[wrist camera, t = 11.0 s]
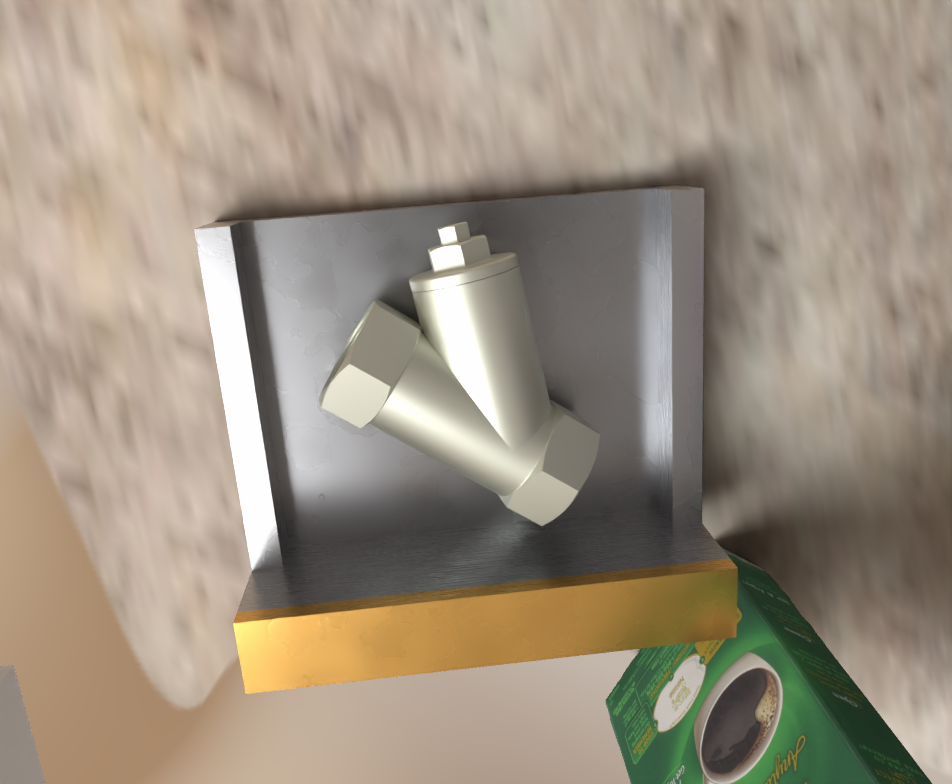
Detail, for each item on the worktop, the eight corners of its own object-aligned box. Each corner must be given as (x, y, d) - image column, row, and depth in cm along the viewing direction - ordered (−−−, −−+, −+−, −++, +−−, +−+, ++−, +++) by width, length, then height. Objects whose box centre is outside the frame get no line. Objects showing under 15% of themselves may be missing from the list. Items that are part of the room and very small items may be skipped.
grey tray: (213, 222, 26) (164, 240, 21) (677, 184, 27) (745, 192, 22) (274, 596, 30) (245, 693, 24) (678, 552, 31) (736, 637, 25)
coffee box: (657, 732, 33) (799, 1087, 20) (596, 704, 32) (704, 1049, 20) (770, 571, 31) (1003, 846, 19) (708, 538, 31) (904, 800, 18)
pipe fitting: (427, 201, 26) (322, 384, 27) (437, 200, 22) (314, 412, 23) (633, 328, 28) (528, 496, 28) (675, 347, 24) (552, 540, 25)
